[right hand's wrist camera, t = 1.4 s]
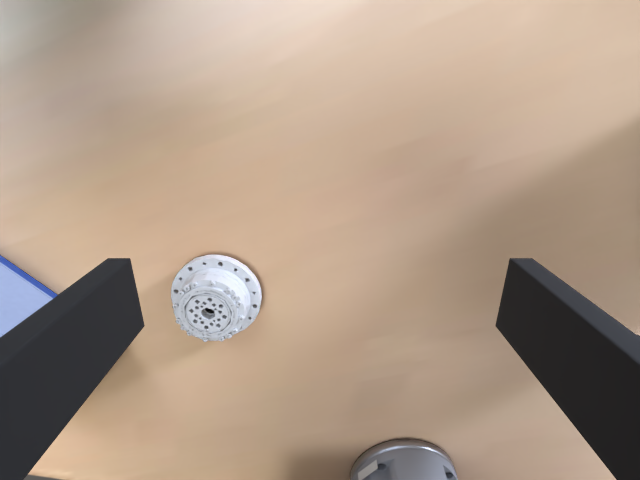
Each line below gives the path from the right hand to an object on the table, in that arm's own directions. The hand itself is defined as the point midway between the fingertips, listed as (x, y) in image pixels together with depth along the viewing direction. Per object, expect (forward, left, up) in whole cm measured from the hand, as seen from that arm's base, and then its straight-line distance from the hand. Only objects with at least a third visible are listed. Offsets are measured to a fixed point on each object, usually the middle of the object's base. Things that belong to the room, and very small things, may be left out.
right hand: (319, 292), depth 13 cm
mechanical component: (-16, +9, -25) cm, 31 cm away
